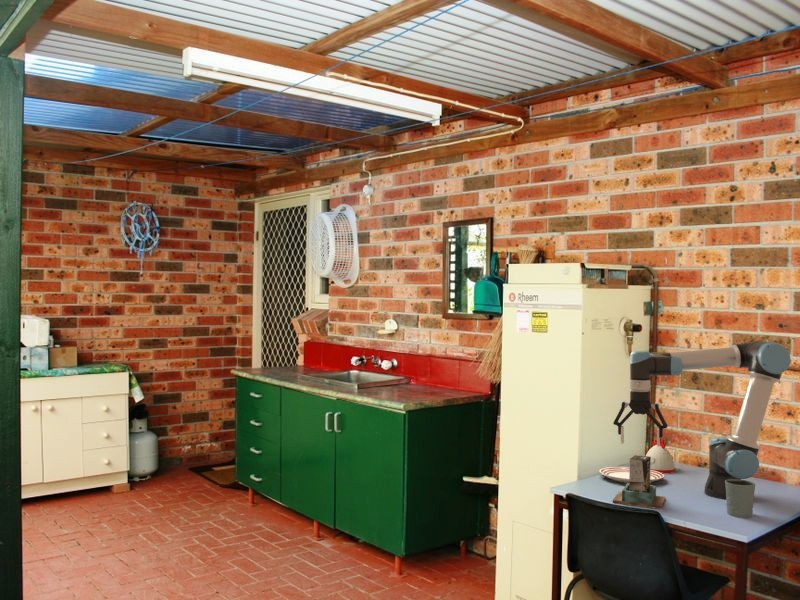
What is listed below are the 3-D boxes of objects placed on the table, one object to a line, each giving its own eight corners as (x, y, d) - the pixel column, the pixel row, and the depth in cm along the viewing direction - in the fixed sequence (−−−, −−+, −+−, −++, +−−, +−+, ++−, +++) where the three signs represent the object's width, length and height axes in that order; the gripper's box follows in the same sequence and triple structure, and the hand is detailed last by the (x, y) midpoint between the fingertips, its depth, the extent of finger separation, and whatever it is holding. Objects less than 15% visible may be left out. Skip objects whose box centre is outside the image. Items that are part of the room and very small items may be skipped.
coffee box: (645, 502, 285) (645, 460, 285) (628, 499, 288) (629, 458, 288) (650, 497, 293) (651, 456, 293) (634, 494, 296) (634, 454, 296)
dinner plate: (601, 470, 344) (601, 463, 344) (663, 475, 335) (664, 468, 335) (597, 483, 318) (597, 476, 318) (664, 489, 309) (664, 481, 309)
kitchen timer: (658, 474, 335) (658, 441, 335) (636, 468, 348) (637, 436, 348) (681, 472, 341) (681, 439, 341) (659, 466, 354) (659, 434, 354)
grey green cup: (722, 515, 272) (723, 482, 272) (727, 509, 280) (727, 477, 280) (753, 520, 266) (753, 486, 266) (756, 513, 275) (756, 481, 275)
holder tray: (665, 499, 294) (665, 486, 294) (661, 508, 280) (661, 495, 280) (618, 493, 301) (618, 481, 301) (612, 502, 288) (612, 489, 288)
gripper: (606, 389, 293) (606, 443, 293) (672, 393, 282) (672, 448, 282) (609, 387, 299) (609, 440, 299) (674, 391, 289) (674, 445, 289)
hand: (640, 444), depth 291 cm, fingers open, 13 cm apart
